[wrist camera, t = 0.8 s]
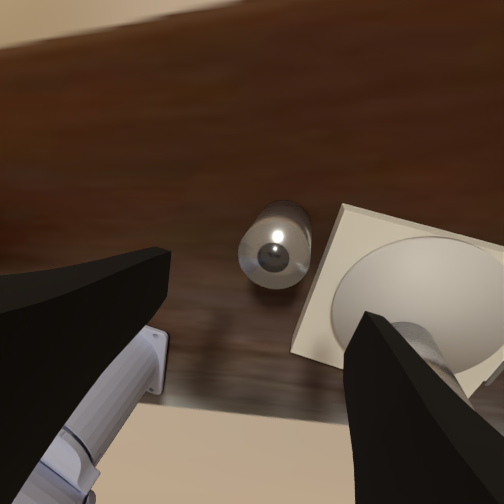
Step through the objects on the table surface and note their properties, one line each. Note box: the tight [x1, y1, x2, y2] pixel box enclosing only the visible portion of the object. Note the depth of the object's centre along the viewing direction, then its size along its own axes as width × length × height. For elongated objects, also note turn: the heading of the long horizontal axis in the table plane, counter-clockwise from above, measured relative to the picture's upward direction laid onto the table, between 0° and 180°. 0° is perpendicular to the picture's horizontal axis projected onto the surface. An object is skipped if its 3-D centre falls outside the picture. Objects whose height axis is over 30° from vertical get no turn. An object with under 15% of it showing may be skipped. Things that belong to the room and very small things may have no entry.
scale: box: [290, 203, 504, 398], centre depth 17 cm, size 12×11×2 cm
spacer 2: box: [391, 322, 475, 411], centre depth 15 cm, size 4×4×5 cm
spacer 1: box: [238, 200, 312, 289], centre depth 16 cm, size 4×4×5 cm
